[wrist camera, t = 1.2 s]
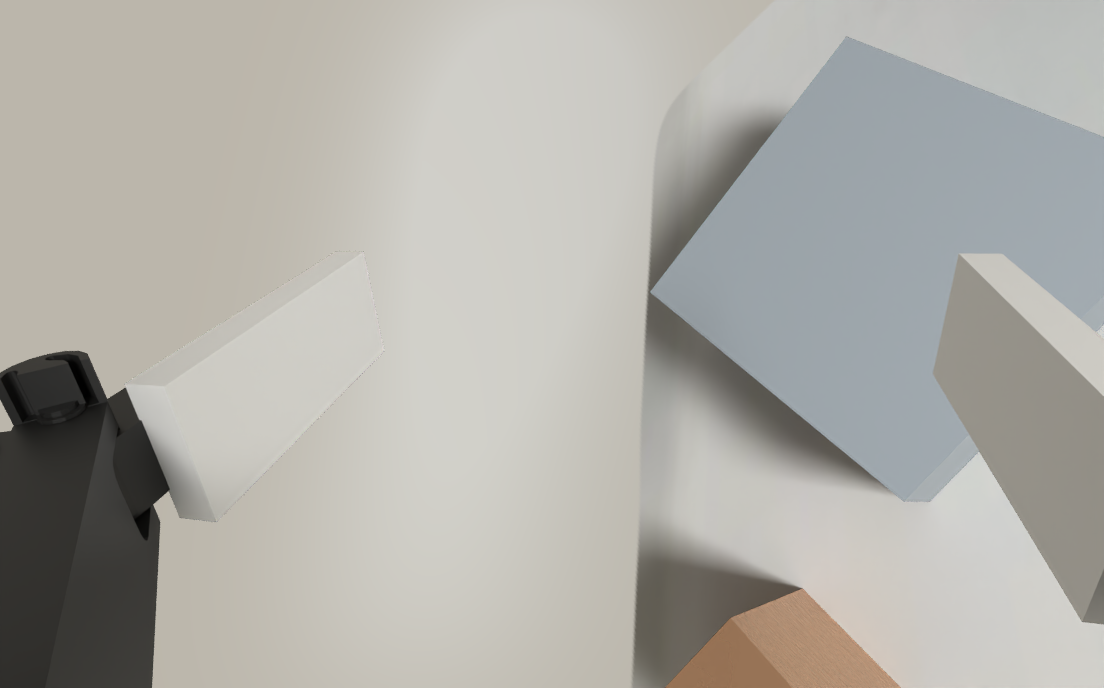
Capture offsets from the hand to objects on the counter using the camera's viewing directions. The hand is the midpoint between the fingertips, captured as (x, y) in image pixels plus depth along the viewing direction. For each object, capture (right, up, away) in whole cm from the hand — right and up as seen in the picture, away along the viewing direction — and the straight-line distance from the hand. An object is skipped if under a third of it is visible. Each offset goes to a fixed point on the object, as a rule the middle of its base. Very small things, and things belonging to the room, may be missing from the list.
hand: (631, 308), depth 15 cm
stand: (+19, +2, +23) cm, 30 cm away
